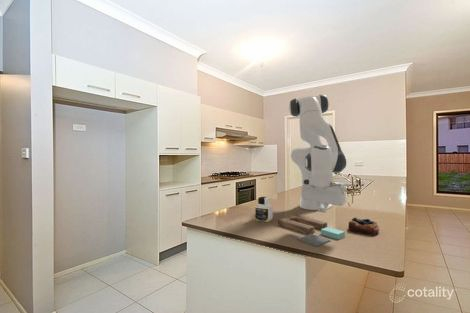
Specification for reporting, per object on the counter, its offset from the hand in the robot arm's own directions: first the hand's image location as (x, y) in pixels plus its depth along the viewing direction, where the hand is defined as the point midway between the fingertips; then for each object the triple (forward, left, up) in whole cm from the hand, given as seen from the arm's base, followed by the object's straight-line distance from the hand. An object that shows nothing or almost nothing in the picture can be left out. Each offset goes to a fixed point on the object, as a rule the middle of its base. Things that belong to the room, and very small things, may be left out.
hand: (322, 212), depth 107 cm
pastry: (-16, +11, -9) cm, 21 cm away
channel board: (+1, -10, -9) cm, 14 cm away
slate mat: (+12, +4, -9) cm, 16 cm away
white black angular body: (+7, -30, -9) cm, 33 cm away
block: (+1, +6, -9) cm, 11 cm away
